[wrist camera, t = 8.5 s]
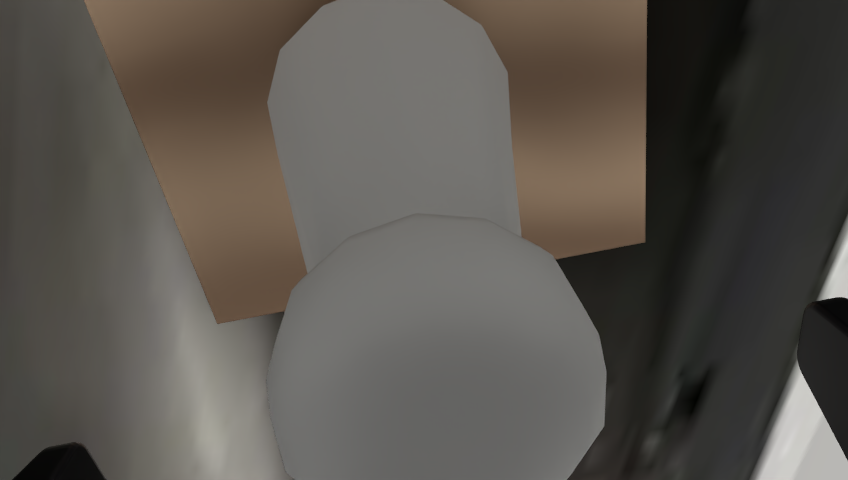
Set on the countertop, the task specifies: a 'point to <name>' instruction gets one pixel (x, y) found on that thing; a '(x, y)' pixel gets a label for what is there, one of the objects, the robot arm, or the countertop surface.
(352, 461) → the salt shaker
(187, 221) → the walnut board
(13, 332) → the countertop surface
